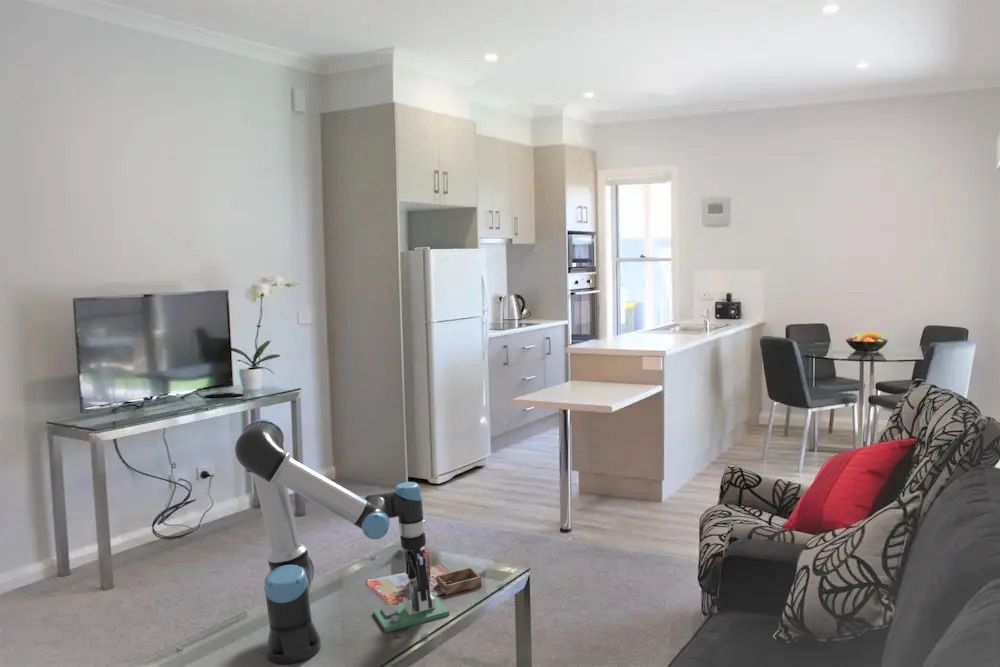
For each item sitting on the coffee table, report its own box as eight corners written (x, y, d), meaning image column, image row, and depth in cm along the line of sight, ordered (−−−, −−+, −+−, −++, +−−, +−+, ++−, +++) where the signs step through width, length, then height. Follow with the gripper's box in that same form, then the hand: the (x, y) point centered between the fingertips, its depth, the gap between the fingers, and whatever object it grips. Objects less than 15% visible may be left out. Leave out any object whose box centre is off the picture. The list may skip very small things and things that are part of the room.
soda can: (432, 576, 283) (429, 542, 281) (429, 585, 276) (425, 551, 274) (412, 577, 283) (408, 543, 282) (408, 586, 277) (404, 551, 275)
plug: (415, 611, 255) (413, 587, 254) (412, 606, 259) (409, 582, 258) (431, 607, 257) (429, 583, 256) (427, 602, 261) (425, 578, 259)
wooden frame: (446, 595, 268) (445, 586, 267) (436, 584, 276) (436, 575, 276) (481, 585, 272) (480, 577, 272) (471, 575, 281) (470, 567, 280)
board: (385, 632, 246) (384, 618, 246) (373, 613, 259) (371, 600, 259) (449, 614, 254) (448, 601, 253) (434, 597, 267) (433, 584, 266)
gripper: (435, 541, 246) (442, 614, 249) (413, 520, 265) (420, 588, 268) (411, 547, 243) (418, 621, 246) (390, 525, 262) (398, 594, 266)
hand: (419, 604), depth 257 cm, fingers open, 8 cm apart
